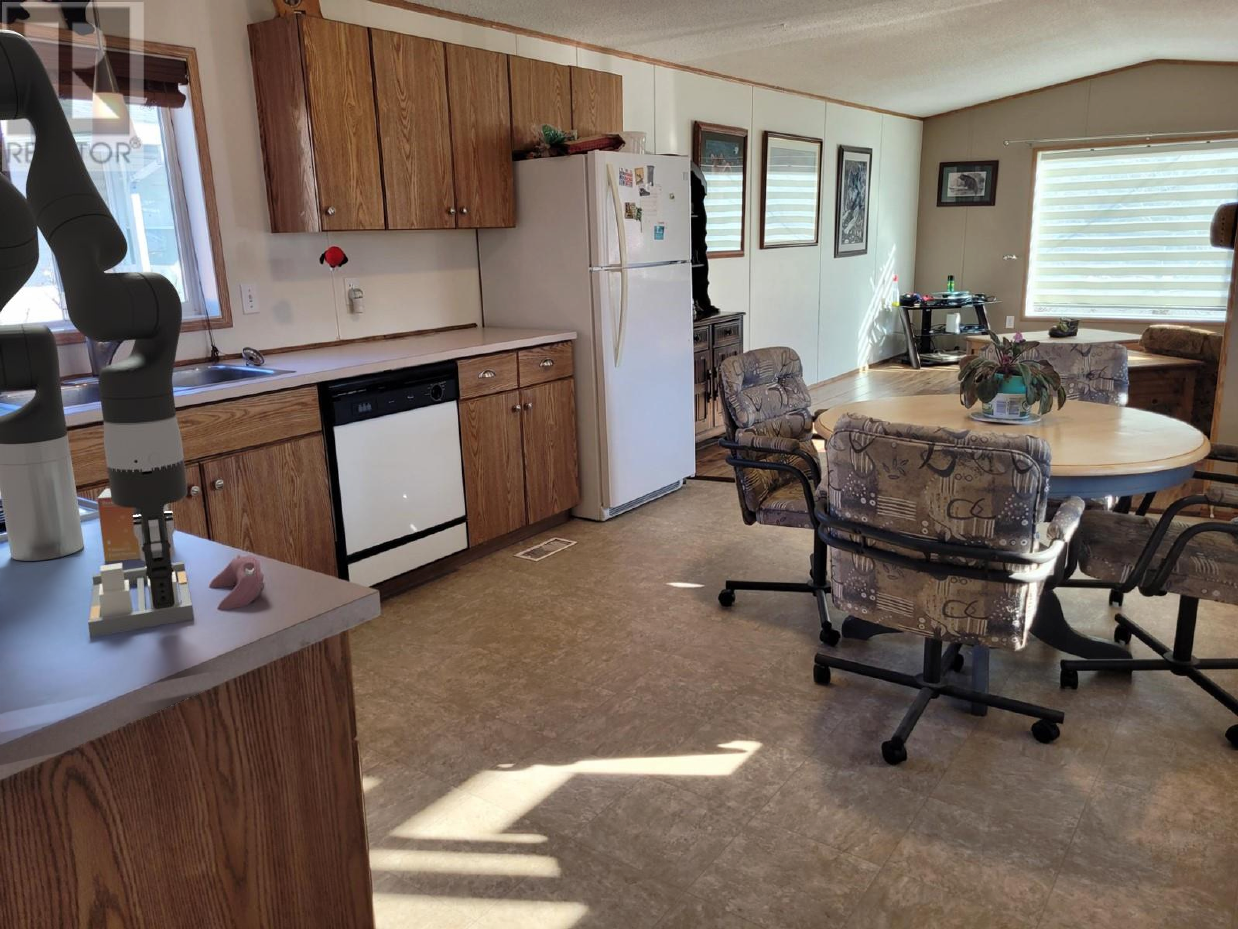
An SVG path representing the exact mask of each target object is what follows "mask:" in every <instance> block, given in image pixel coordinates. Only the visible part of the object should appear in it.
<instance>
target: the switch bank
mask: <svg viewBox="0 0 1238 929" xmlns="http://www.w3.org/2000/svg"><path fill="white" fill-rule="evenodd" d="M171 564H173V571H175V575H176V579H177V582H178V589H179V595H180V602H181V603H179V604H178V605H174V606H172V607H168V608H162V609H155V608H153V609H151V608H148V609H147V608H146V594H145V593H146V591H145V583H148V577H147V576H146V566H143V567H136V568H130V569H123V573H124V580H129V586H130V585H137V610H136V611H133V612H129V613H123V614H117V615H111V616H105V617H102V613H101V606H100V599H99V588H100V584H102V580H101V573H96V574H92V582H93V584H92V594H91V604H90V605H91V606H90V613H89V614H90V615H89V616H90V617H89V619H88V620H87V624H88V632H89V636H90V637H97V636H103V635H108V634H109V635H110V634H114V633H115V634H116V633H121V632H126V631H131V630H132V631H133V630H139V629H144V628H149V627H150V628H151V627H154V626H162V625H167V624H172V623H179V622H184V621H189V620H194V619H195V617H194V610H193V603H192V602H193V601H192V599H191V595H190V588H189V583H188V578H187V573H186V566H185V561H178V562H171Z"/></svg>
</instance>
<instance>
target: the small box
mask: <svg viewBox="0 0 1238 929" xmlns="http://www.w3.org/2000/svg"><path fill="white" fill-rule="evenodd" d="M168 504H169V503H168ZM168 504H166V505H165V506H164V508H163V511H164V512H167V511H169V505H168ZM97 510H98V518H99V526H100V533H101V534H100V535H101V540H102V541H101V542H102V549H103V559H104V562H105V563H107V562H113V561H114V562H115V561H116V562H117V561H126V560H135V559H137V560H139V559H141V558H140V550H139V543H138V539H137V538H136V537H135V533H134V525H133V522H134V520H133V516H134V515H141V514H140V513H141V512H140V510H139V509H138V508H135V507H131V508H124V507H120V506H117V505H115V504H114V503H113V502H112V499H111V492H110V488H105V489H104V490H103V491H102V492H101V493H100V495H99V496H98V497H97ZM143 536H144V535H143ZM167 537H168V536H167ZM144 543H145V542H144Z"/></svg>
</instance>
